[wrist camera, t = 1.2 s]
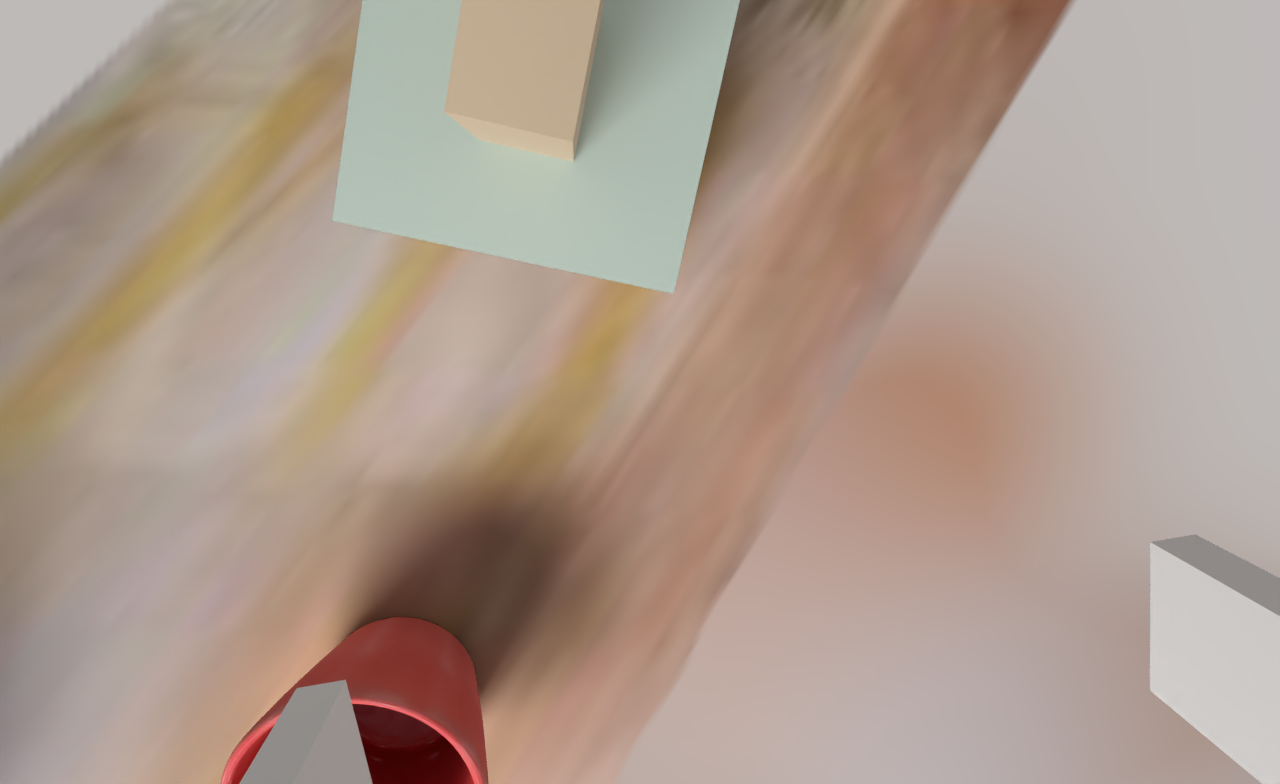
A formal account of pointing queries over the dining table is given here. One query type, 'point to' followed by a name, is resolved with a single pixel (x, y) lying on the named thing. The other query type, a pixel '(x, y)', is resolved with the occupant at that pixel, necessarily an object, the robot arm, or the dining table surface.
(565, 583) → the dining table surface
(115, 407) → the dining table surface
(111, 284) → the dining table surface
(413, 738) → the flower pot
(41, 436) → the dining table surface
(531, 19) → the lid
